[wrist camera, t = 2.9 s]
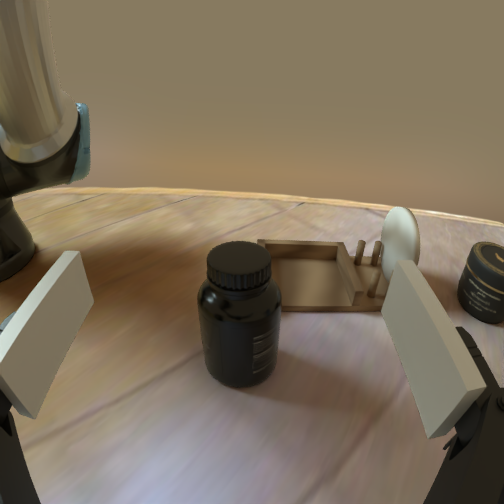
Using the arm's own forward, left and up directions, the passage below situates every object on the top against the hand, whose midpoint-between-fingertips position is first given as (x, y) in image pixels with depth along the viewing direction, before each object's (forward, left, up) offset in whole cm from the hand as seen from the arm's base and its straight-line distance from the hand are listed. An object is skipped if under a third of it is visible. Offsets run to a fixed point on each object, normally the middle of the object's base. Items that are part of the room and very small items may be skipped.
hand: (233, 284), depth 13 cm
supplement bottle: (-9, +4, -17) cm, 20 cm away
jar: (-2, +38, -17) cm, 42 cm away
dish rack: (-16, +20, -17) cm, 31 cm away
